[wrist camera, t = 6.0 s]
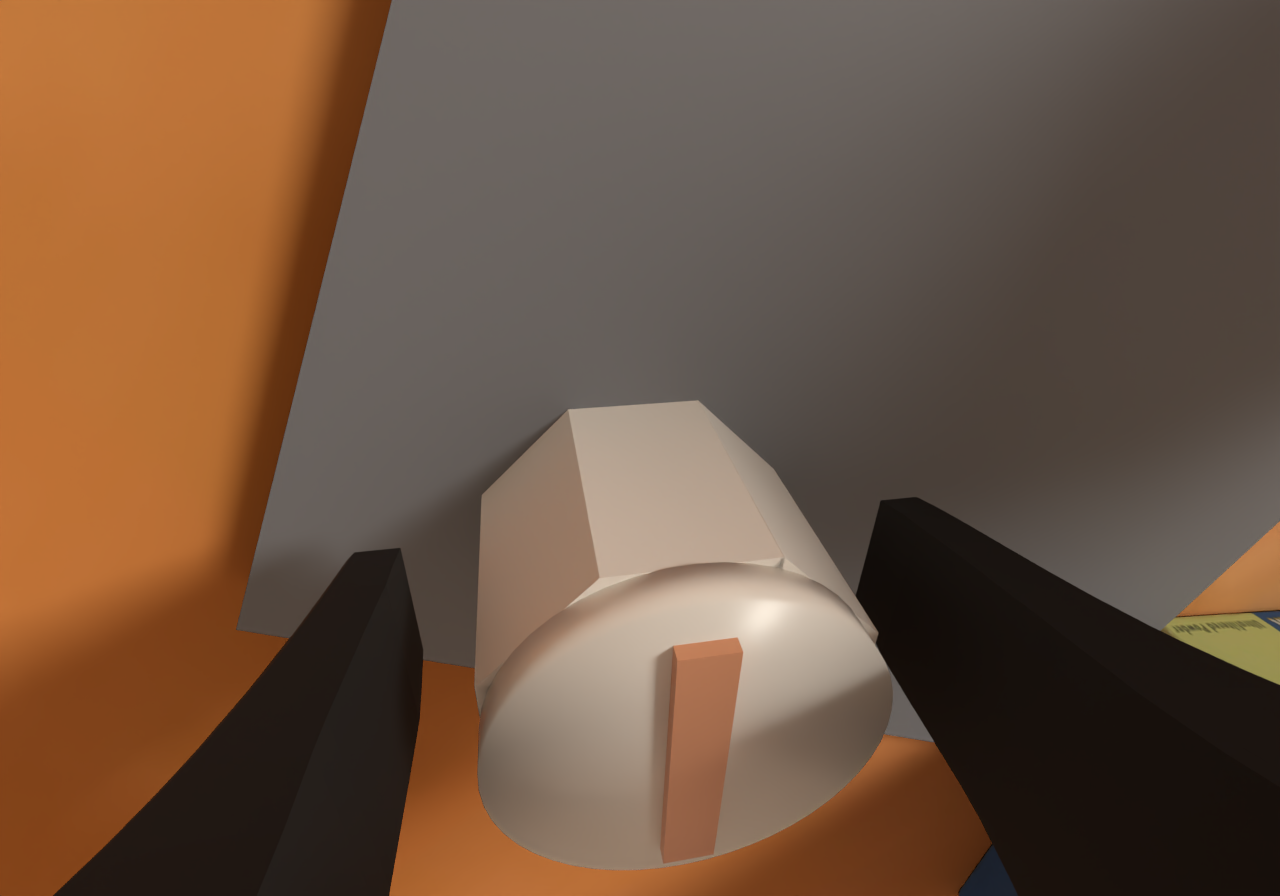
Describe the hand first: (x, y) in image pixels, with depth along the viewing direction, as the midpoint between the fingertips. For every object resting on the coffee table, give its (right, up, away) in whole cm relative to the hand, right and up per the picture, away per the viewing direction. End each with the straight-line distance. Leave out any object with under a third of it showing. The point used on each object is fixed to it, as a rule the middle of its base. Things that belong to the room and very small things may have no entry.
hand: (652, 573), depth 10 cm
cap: (0, 0, +2) cm, 2 cm away
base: (+5, +3, +2) cm, 6 cm away
